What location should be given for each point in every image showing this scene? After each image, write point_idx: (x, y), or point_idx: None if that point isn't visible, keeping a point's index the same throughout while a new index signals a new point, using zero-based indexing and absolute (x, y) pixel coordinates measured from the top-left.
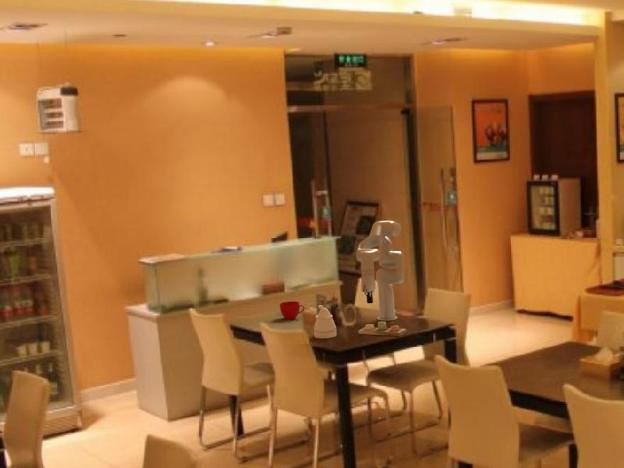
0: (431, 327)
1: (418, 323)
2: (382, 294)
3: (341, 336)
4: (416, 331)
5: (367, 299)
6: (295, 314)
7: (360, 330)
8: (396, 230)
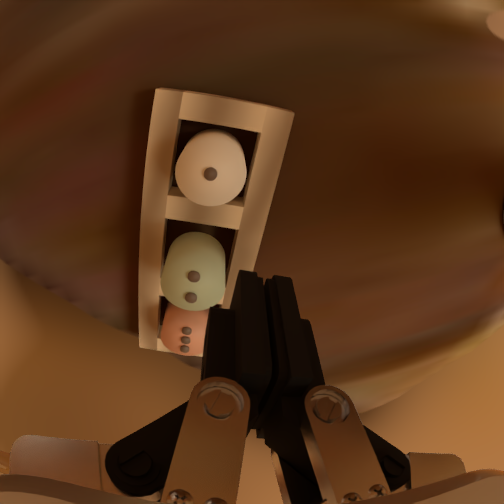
0: None
1: (411, 341)
2: None
3: (79, 6)
4: None
5: (209, 339)
6: None
7: (155, 106)
8: None
